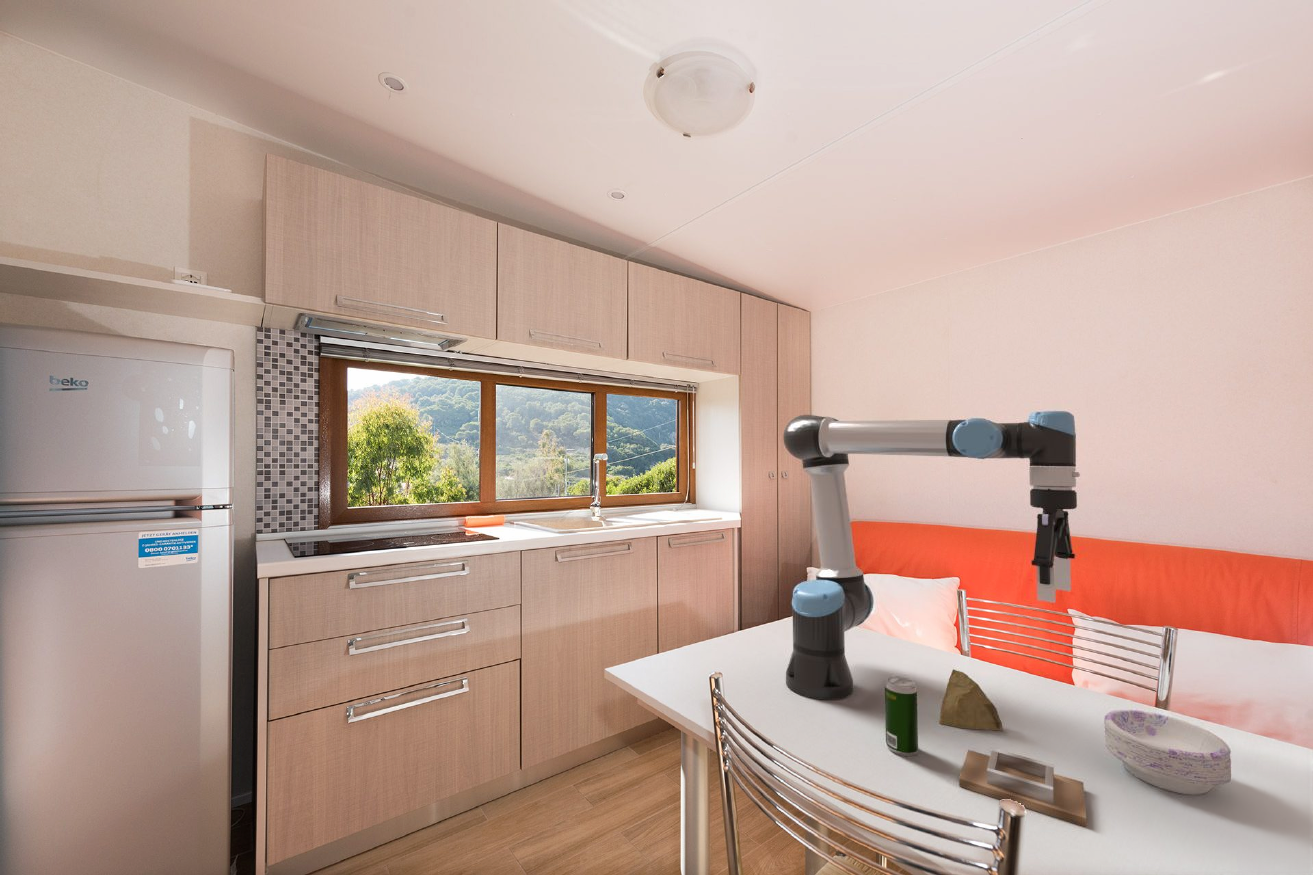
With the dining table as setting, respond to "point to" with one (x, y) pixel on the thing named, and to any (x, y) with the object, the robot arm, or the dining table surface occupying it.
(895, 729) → the beer can
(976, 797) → the dining table surface
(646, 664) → the dining table surface
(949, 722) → the rock
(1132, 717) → the paper bowls
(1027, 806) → the socket board
